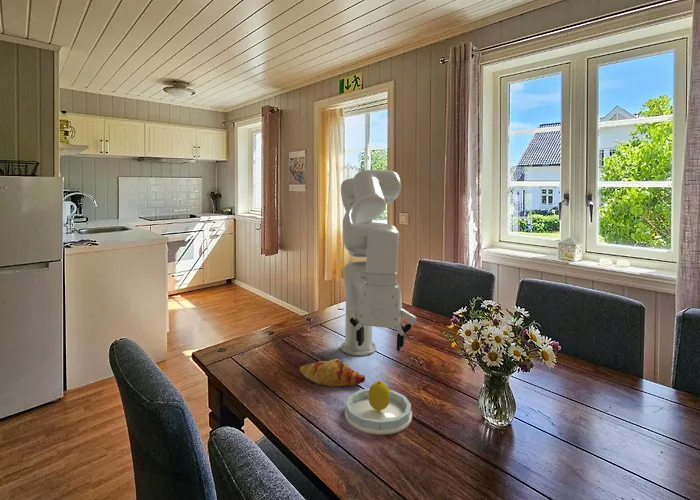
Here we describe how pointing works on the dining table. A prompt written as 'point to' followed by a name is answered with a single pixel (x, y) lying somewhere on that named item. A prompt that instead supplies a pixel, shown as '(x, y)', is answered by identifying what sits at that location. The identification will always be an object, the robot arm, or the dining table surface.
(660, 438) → the dining table surface
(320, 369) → the croissant
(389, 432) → the dish
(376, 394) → the lemon
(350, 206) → the robot arm
